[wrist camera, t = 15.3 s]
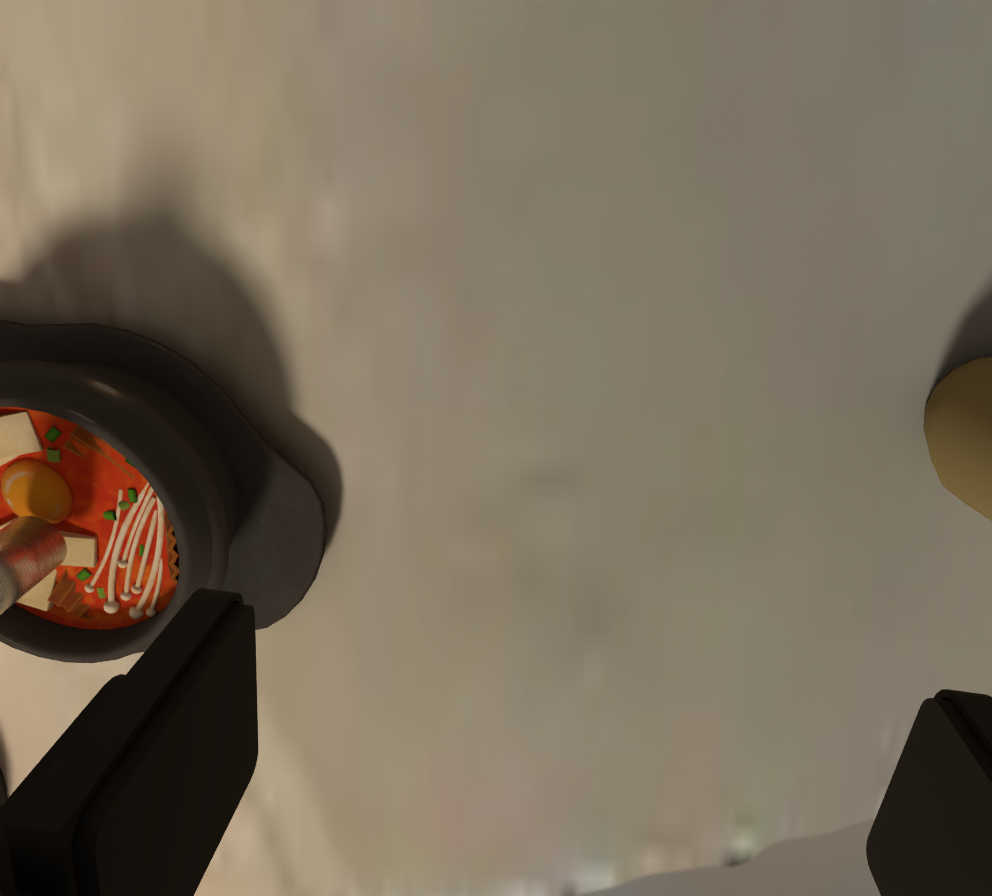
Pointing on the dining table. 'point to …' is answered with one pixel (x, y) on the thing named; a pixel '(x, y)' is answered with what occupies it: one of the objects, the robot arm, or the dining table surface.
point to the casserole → (141, 492)
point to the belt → (2, 790)
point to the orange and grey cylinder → (27, 556)
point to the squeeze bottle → (963, 433)
